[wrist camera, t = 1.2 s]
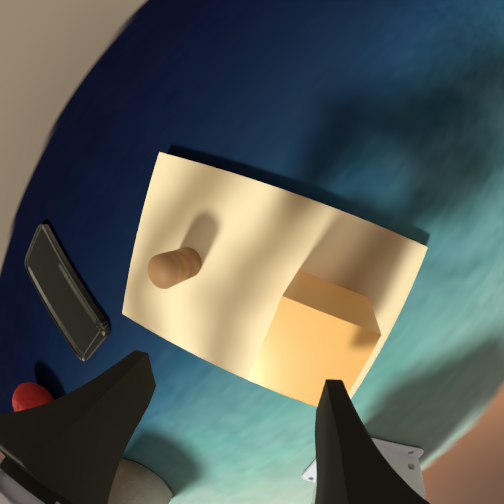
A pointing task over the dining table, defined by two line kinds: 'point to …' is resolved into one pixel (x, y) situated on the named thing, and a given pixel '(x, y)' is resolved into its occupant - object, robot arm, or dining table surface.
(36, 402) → the tomato
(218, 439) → the dining table surface
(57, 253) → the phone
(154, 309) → the board
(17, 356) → the dining table surface
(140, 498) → the pillar candle
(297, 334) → the tan foam cube
